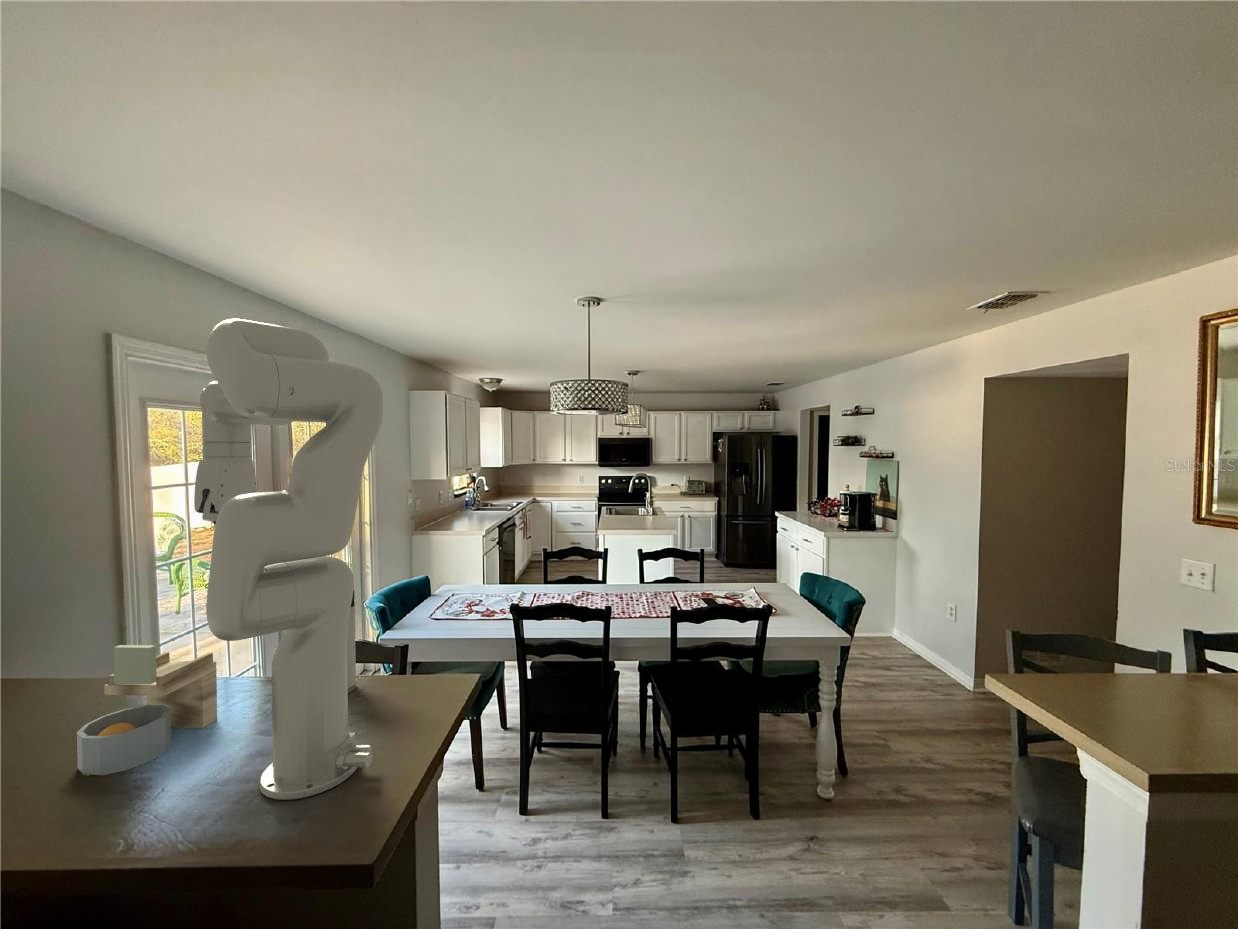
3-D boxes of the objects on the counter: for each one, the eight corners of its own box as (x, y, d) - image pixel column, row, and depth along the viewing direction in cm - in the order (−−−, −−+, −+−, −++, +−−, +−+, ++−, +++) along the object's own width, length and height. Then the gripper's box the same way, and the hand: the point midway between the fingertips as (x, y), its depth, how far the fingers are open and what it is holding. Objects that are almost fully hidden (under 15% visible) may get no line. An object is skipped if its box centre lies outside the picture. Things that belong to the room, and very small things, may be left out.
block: (161, 679, 84) (160, 643, 84) (150, 684, 82) (150, 647, 82) (125, 679, 84) (124, 643, 84) (114, 683, 82) (113, 647, 82)
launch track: (217, 719, 93) (216, 653, 92) (165, 750, 83) (164, 676, 82) (163, 718, 93) (161, 652, 93) (105, 749, 83) (104, 676, 83)
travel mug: (363, 683, 107) (362, 586, 107) (343, 698, 100) (341, 594, 100) (334, 682, 108) (333, 585, 107) (312, 697, 101) (311, 594, 101)
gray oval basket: (186, 738, 86) (185, 705, 86) (125, 776, 76) (124, 738, 76) (127, 737, 87) (126, 704, 87) (58, 775, 76) (57, 737, 76)
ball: (117, 731, 77) (114, 766, 77) (148, 717, 82) (146, 750, 82) (85, 730, 78) (82, 765, 77) (118, 717, 83) (116, 750, 82)
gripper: (239, 452, 107) (240, 542, 107) (173, 452, 92) (175, 556, 92) (274, 452, 106) (275, 542, 107) (214, 451, 91) (216, 556, 92)
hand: (229, 548), depth 99 cm, fingers closed
